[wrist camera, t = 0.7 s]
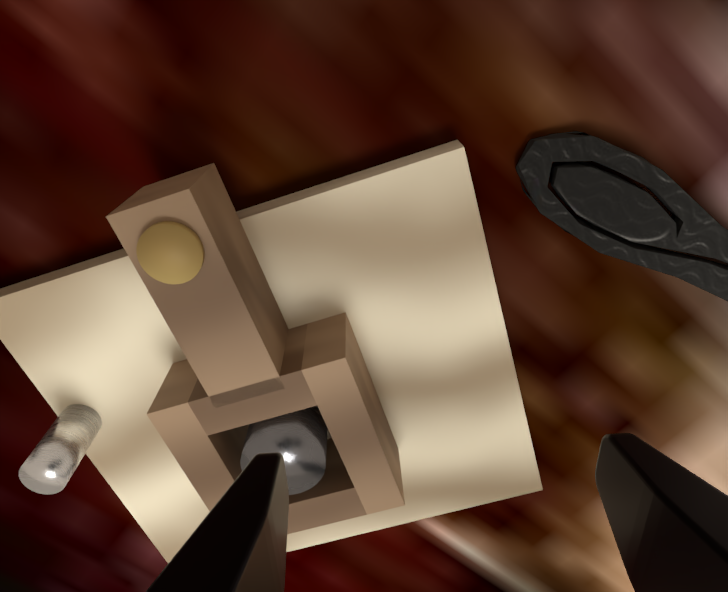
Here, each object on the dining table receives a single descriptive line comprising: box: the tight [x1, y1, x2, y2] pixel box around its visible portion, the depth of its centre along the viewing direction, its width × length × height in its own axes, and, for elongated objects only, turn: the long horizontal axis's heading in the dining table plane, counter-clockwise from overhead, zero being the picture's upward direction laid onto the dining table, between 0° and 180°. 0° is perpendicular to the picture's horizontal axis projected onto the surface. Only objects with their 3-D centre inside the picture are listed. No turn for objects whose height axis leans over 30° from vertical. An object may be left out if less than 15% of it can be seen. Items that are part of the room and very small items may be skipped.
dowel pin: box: [19, 404, 102, 494], centre depth 20 cm, size 2×2×3 cm
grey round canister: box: [240, 406, 328, 495], centre depth 21 cm, size 3×3×4 cm
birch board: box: [0, 140, 543, 563], centre depth 22 cm, size 16×18×1 cm
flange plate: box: [106, 163, 405, 534], centre depth 19 cm, size 14×7×3 cm, turn 18°
